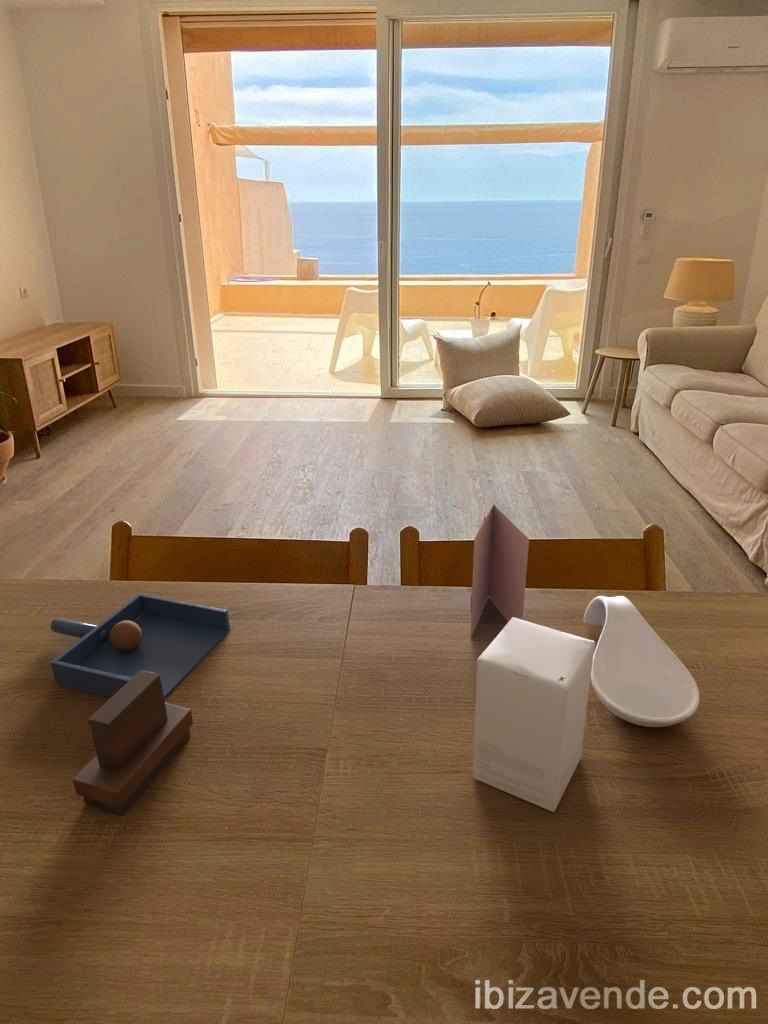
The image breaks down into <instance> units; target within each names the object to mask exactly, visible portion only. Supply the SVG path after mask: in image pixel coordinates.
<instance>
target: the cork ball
mask: <svg viewBox="0 0 768 1024" xmlns="http://www.w3.org/2000/svg"><path fill="white" fill-rule="evenodd" d="M141 638H142V632H141V629H140V627H139V626H138V625H137V624H136V623H135V622H132V621H121V622H119V623H117V624H116V625H115V626H114V627H113V628H112V630H111V632H110V641H109V642H111V644H112V645H113V647H115V648H116V649H118V650H120V651H130V650H132V649H134V648H136V647H137V646H138V645H139V643H140V641H141Z"/></svg>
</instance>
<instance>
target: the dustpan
mask: <svg viewBox="0 0 768 1024" xmlns="http://www.w3.org/2000/svg"><path fill="white" fill-rule="evenodd" d="M121 621H132V622H135V623H136V624H137V625H138V626H139V627H140V629H141V632H142V638H141V641H140V643H139V645H138V646H137V647H136V648H134V649H132V650H130V651H120V650H118V649H116V648H115V647H113V645H112V644H111V642H110V632H111V630H112V628H113V627H114V626H115V625H116V624H117V623H119V622H121ZM50 630H51V631H52V632H53V633H55V634H61V635H65V636H68V637H72V638H73V637H74V638H78V640H77V641H76V642H75V643H73V644H72V645H71V646H70V647H69V648H67V649H66V650H65V651H63V652H61V654H59V655H58V656H57V657H55V658H54V659H52V661H50V667H51V670H52V675H53V678H54V682H55V683H58V685H59V686H62V687H66V688H70V689H73V690H78V691H82V692H86V693H90V694H94V695H97V696H101V697H106V698H109V699H110V698H111V697H112V696H113V695H115V694H116V693H117V692H118V691H119V690H120V689H121V688H122V687H123V686H124V685H125V684H126V683H127V682H129V681H130V680H131V679H132V678H133V677H134V676H135V675H136V674H137V673H138V672H139V671H140V670H143V671H147V672H152V673H156V674H160V678H161V684H162V689H163V695H164V700H165V699H166V698H167V697H168V696H169V695H170V693H171V692H172V691H173V690H175V688H176V687H177V686H179V684H180V683H182V681H183V680H184V679H185V678H186V677H187V676H188V675H189V674H190V673H191V672H192V671H193V670H194V669H195V668H196V667H197V666H198V665H199V664H200V663H201V661H203V660H204V659H205V657H206V656H207V655H208V654H209V653H210V652H211V651H212V650H213V649H214V648H215V647H216V646H217V645H218V644H219V643H220V642H221V641H222V640H223V639H224V637H225V636H226V635H227V634H228V633H229V632H230V631H231V626H230V619H229V610H228V609H223V608H217V607H212V606H207V605H201V604H196V603H191V602H185V601H180V600H176V599H170V598H165V597H161V596H160V597H159V596H154V595H149V594H145V593H138V594H136V595H135V596H134V597H133V598H131V599H130V600H129V601H127V602H126V603H125V604H123V605H122V606H121V607H120V608H118V609H117V610H116V611H115V612H113V613H112V614H110V615H109V616H108V617H107V618H105V619H104V620H103V621H102V622H100V623H99V624H98V625H94V624H89V623H85V622H80V621H75V620H72V619H71V620H70V619H66V618H61V617H56V618H54V619H53V620H52V621H51V622H50Z"/></svg>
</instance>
